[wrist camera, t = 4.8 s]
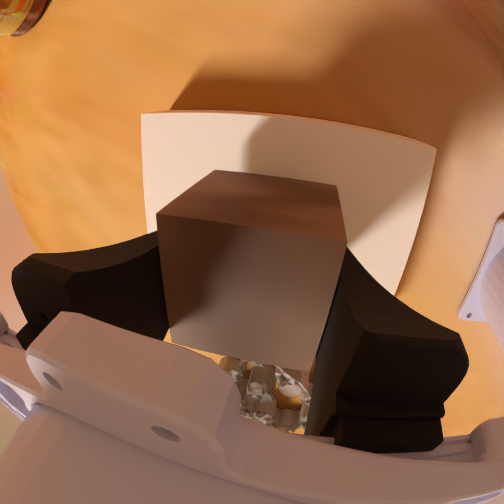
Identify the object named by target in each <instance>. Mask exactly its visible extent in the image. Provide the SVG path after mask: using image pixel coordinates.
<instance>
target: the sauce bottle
mask: <svg viewBox="0 0 504 504" xmlns="http://www.w3.org/2000/svg"><path fill="white" fill-rule="evenodd" d="M46 2H47V0H0V38H6V37H8V36H13V37H16V36H21V35H23V34H25V33H26V32H27V31H29V30H30V29H31V27H32V26H33V25H34V24H35V23H36V22H37V20H38V19H39V17H40V15H41V13H42V11H43V9H44V7H45V4H46Z"/></svg>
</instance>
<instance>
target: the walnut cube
mask: <svg viewBox="0 0 504 504" xmlns="http://www.w3.org/2000/svg"><path fill="white" fill-rule="evenodd" d="M156 222H157V234H158V244H159V254H160V263H161V272H162V280H163V288H164V295H165V302H166V309H167V315H168V322H169V328H170V334H171V340H172V343H175V344H179V345H183V346H187V347H190V348H194V349H198V350H202V351H206V352H210V353H215V354H219V355H223V356H228V357H232V358H237V359H241V360H246V361H251V362H256V363H261V364H267V365H272V366H278V367H283V368H289V369H295V370H302V371H309V372H310V370H311V367H312V364H313V361H314V358H315V355H316V352H317V349H318V346H319V343H320V340H321V337H322V333H323V330H324V327H325V324H326V320H327V317H328V314H329V310H330V307H331V303H332V300H333V296H334V293H335V289H336V285H337V282H338V278H339V274H340V270H341V266H342V262H343V258H344V254H345V250H346V246H347V236H346V231H345V225H344V220H343V214H342V209H341V204H340V199H339V194H338V189H337V186H336V185H331V184H325V183H318V182H312V181H306V180H299V179H292V178H285V177H277V176H270V175H261V174H253V173H244V172H235V171H225V170H214V171H212V172H211V173H209V174H208V175H207V176H205V177H204V178H202V179H201V180H200V181H198V182H197V183H195V184H194V185H193V186H191V187H190V188H189V189H187V190H186V191H185V192H183V193H182V194H181V195H179V196H178V197H177V198H175V199H174V200H173V201H171V202H170V203H169V204H167V205H166V206H165V207H163V208H162V209H161V210H160V211H158V212H157V213H156Z"/></svg>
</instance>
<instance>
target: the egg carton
mask: <svg viewBox="0 0 504 504" xmlns="http://www.w3.org/2000/svg"><path fill="white" fill-rule="evenodd" d="M252 363H253V364H254V365H255V366H254V367H253V368H252V371H251V374H250V378H249V380H247V379H246V378H243V374H244V371H245V368H246V365H247V361H246V360H236V359H233V358H230V357H225V358H223V359H221V361H220V364H219V366H220V367H221V368H222V369H224V370H225V371H226V372H227V373H228V374H230V375H231V376H232V377H233V378H234V380H235V383H236V385H237V388H238V390H239V393H240V395H241V404H240V414H241V415H242V416H244V417H246V418H249V419H251V420H254V421H257V422H260V423H263V424H265V425H268V426H271V427H274V428H277V429H280V430H283V431H287V432H288V431H291V432H294V431H295V430H296V429H298V428H303V429H305V427H306V422H307V417H308V411H309V405H310V399H311V393H312V386H313V383H310V382H309V375H310V372H309V371H302V370H295V369H289V368H283V367H278V366H275V367H276V369H275V368H274V367H272V366H270V365H267V364H261V363H256V362H252ZM276 381H277V382H278V386H279V392H280V393H281V394H282V395H284V396H287V397H297V396H299V395H301V394H302V392H303V395H302V398H301V400H302V402H303V403H302V406H301V410H293V409H279V408H277V407H276V405H277V400H276V398H275V397H274V391H275V386H276ZM299 385H300V386H299Z"/></svg>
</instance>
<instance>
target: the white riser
mask: <svg viewBox="0 0 504 504" xmlns="http://www.w3.org/2000/svg"><path fill="white" fill-rule="evenodd" d="M141 135H142V166H143V184H144V198H145V211H146V222H147V232H148V234H149V233H151V232H154V231H157V222H156V213H157V212H158V211H160V210H161V209H162V208H163V207H165V206H166V205H167V204H169V203H170V202H171V201H173V200H174V199H175V198H177V197H178V196H179V195H181V194H182V193H183V192H185V191H186V190H187V189H189V188H190V187H191V186H193V185H194V184H195V183H197V182H198V181H200V180H201V179H202V178H204V177H205V176H207V175H208V174H209V173H211V172H212V171H214V170H225V171H235V172H244V173H253V174H261V175H270V176H277V177H285V178H292V179H299V180H306V181H312V182H318V183H325V184H331V185H336V186H337V189H338V194H339V199H340V204H341V209H342V214H343V220H344V225H345V231H346V236H347V247H348V248H349V250H350V251H351V252H352V253H353V255H354V256H355V257H356V258H357V260H358V261H359V262H360V263H361V264H362V266H363V267H364V268H365V269H366V270H367V271H368V272H369V273H370V274H371V275H372V276H373V278H374V279H375V280H376V281H377V282H378V283H379V284H381V285H382V286H383V287H384V288H385V289H386V290H387V291H389V292H390V293H391V294H392V295H393V296H394V295H395V292H396V290H397V287H398V285H399V282H400V279H401V277H402V274H403V271H404V268H405V265H406V263H407V260H408V257H409V254H410V251H411V248H412V245H413V242H414V238H415V235H416V232H417V229H418V225H419V222H420V218H421V215H422V211H423V208H424V204H425V200H426V196H427V192H428V188H429V184H430V180H431V175H432V171H433V166H434V161H435V156H436V151H437V148H435V147H432V146H430V145H428V144H426V143H424V142H421V141H419V140H416V139H413V138H409V137H405V136H401V135H397V134H393V133H389V132H385V131H380V130H376V129H371V128H367V127H362V126H357V125H351V124H346V123H340V122H334V121H328V120H322V119H315V118H308V117H300V116H292V115H283V114H273V113H261V112H248V111H229V110H165V111H158V112H151V113H144V114H141Z"/></svg>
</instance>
